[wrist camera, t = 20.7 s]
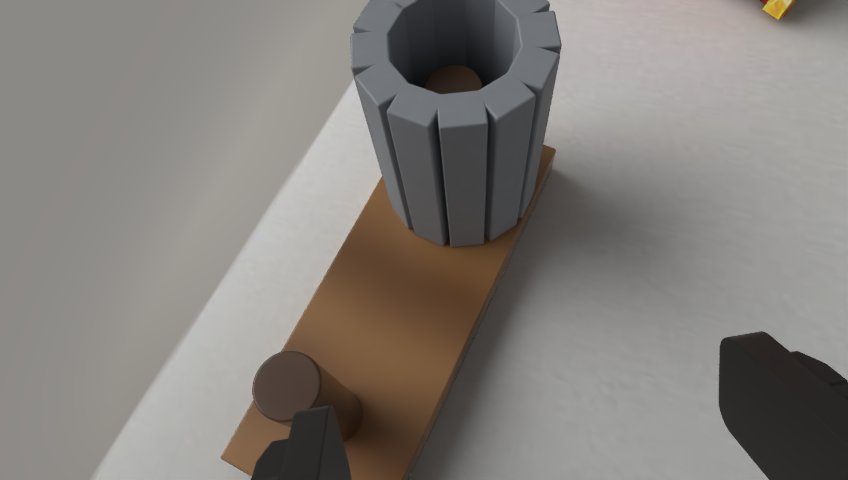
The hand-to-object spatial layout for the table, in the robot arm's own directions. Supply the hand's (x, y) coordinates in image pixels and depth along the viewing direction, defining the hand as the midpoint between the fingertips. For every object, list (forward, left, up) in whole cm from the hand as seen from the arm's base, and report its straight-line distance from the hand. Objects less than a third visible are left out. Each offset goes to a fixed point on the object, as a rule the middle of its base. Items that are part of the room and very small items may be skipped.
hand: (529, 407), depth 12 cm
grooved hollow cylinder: (+8, +6, -8) cm, 13 cm away
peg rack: (+3, +6, -10) cm, 12 cm away
